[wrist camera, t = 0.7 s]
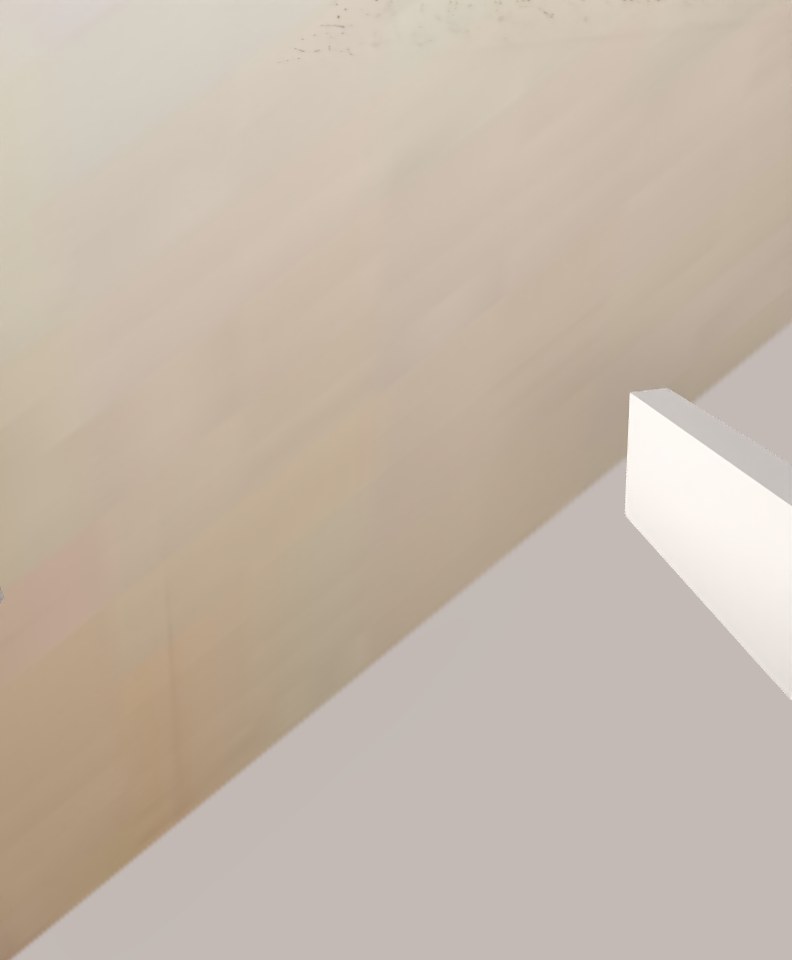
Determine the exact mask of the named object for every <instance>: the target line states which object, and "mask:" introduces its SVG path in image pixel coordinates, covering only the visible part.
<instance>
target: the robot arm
mask: <svg viewBox="0 0 792 960" xmlns="http://www.w3.org/2000/svg"><path fill="white" fill-rule="evenodd" d="M625 516H626V517H627V518H628V519H629V520H630V521H631V522H632V524H633V525H634V526H635V527H636V528H637V529H638V530H639V531H640V532H641V534H643V536H644V537H645V538H646V539H647V540H648V541H649V542H650V544H651V545H652V546H653V547H654V548H655V549H656V550H657V551H658V553H659V554H660V555H661V556H662V557H663V558H664V559H665V560H666V561H667V563H668V564H669V565H670V566H671V567H672V568H673V569H674V570H675V572H676V573H677V574H678V575H679V576H680V577H681V578H682V579H683V580H684V582H685V583H686V584H687V585H688V586H689V587H690V588H691V589H692V590H693V592H694V593H695V594H696V595H697V596H698V597H699V598H700V599H701V600H702V602H703V603H704V604H705V605H706V606H707V607H708V608H709V609H710V610H711V612H712V613H713V614H714V615H715V616H716V617H717V618H718V619H719V620H720V622H721V623H722V624H723V625H724V626H725V627H726V628H727V629H728V631H729V632H730V633H731V634H732V635H733V636H734V637H735V638H736V640H737V641H738V642H739V643H740V644H741V645H742V646H743V647H744V648H745V650H746V651H747V652H748V653H749V654H750V655H751V656H752V657H753V658H754V660H755V661H756V662H757V663H758V664H759V665H760V666H761V667H762V668H763V670H764V671H765V672H766V673H767V674H768V675H769V676H770V677H771V679H772V680H773V681H774V682H775V683H776V684H777V685H778V686H779V687H780V689H782V691H783V692H784V693H785V694H786V695H787V696H788V697H789V699H790V700H791V701H792V464H790V463H788V462H786V461H785V460H783V459H782V458H780V457H779V456H777V455H775V454H773V453H772V452H770V451H769V450H767V449H766V448H764V447H762V446H761V445H759V444H757V443H756V442H754V441H753V440H751V439H749V438H748V437H746V436H744V435H742V434H741V433H740V432H738V431H736V430H735V429H733V428H731V427H730V426H728V425H727V424H725V423H723V422H722V421H720V420H718V419H717V418H715V417H713V416H712V415H710V414H709V413H707V412H705V411H704V410H702V409H701V408H699V407H697V406H696V405H694V404H692V403H691V402H689V401H688V400H686V399H684V398H683V397H681V396H679V395H678V394H676V393H675V392H673V391H671V390H670V389H668V388H662V389H654V390H646V391H638V392H630V404H629V428H628V451H627V476H626V501H625ZM3 599H4V596H3V593H2V590H1V588H0V603H1V601H2V600H3Z"/></svg>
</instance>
